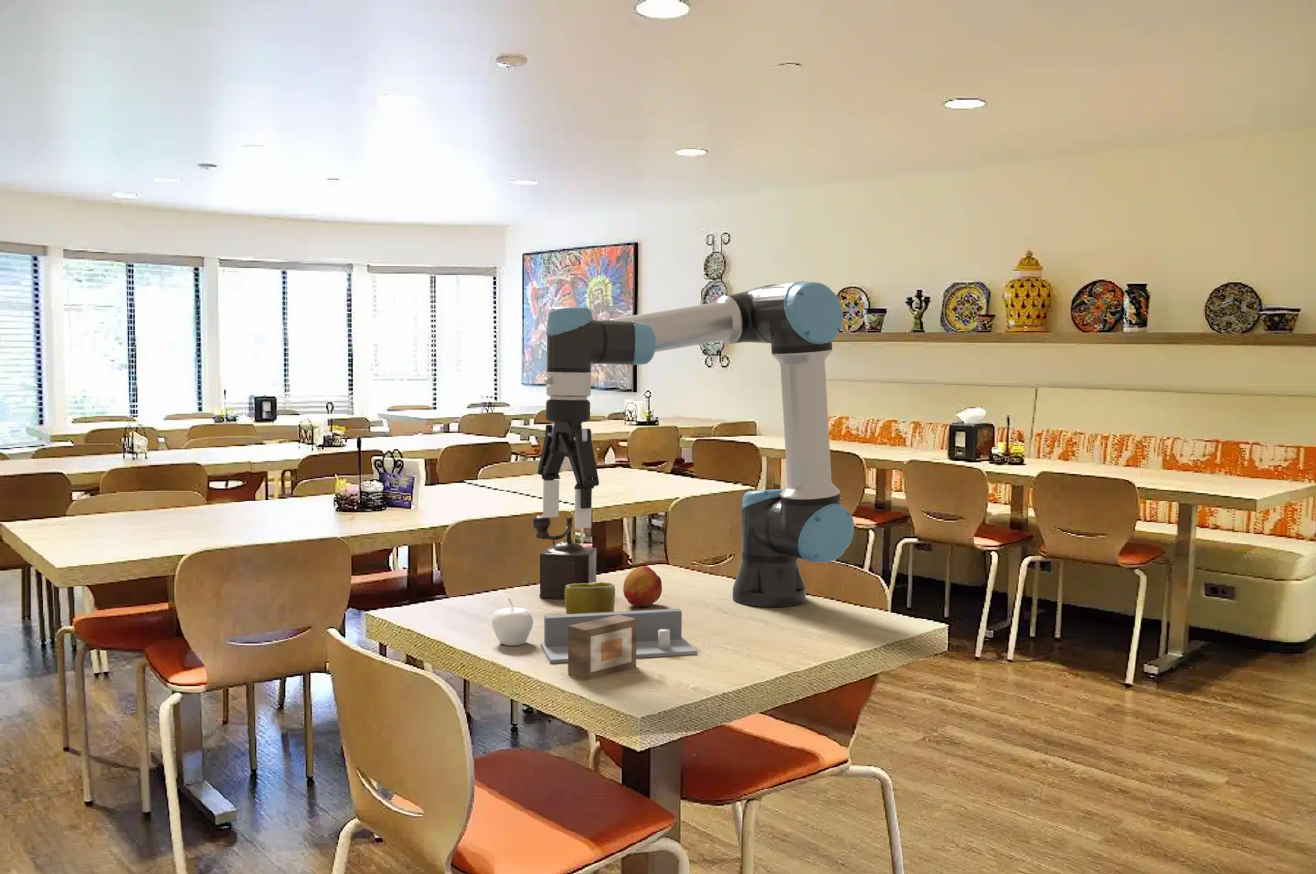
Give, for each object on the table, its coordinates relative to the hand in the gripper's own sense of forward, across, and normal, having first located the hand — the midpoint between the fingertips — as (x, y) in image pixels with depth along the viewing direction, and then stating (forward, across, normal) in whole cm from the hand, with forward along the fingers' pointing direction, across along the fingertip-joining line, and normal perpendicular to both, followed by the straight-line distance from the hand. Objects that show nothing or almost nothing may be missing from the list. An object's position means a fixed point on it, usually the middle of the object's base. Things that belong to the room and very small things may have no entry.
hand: (566, 522), depth 188 cm
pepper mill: (+22, -37, +16) cm, 46 cm away
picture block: (+22, +16, 0) cm, 27 cm away
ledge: (+22, +6, +7) cm, 24 cm away
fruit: (+22, -22, +27) cm, 41 cm away
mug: (+22, -12, +11) cm, 27 cm away
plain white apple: (+22, -7, -7) cm, 24 cm away
